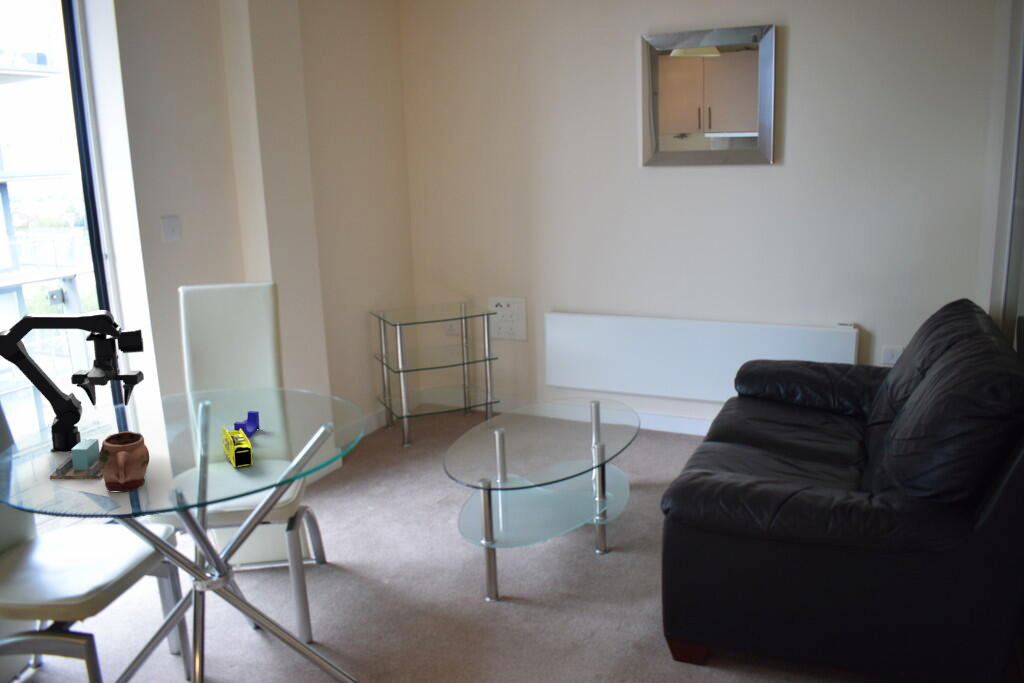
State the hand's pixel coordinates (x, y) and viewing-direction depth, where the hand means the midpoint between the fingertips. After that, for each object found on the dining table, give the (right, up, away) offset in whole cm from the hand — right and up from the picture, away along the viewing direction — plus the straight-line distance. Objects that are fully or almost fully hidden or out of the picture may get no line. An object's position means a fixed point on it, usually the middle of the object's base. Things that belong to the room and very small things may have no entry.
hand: (110, 405), depth 256 cm
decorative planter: (+17, -20, -28) cm, 38 cm away
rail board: (+1, -16, -15) cm, 22 cm away
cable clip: (+36, -11, +13) cm, 39 cm away
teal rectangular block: (+1, -15, -16) cm, 22 cm away
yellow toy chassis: (+39, -15, -6) cm, 43 cm away
